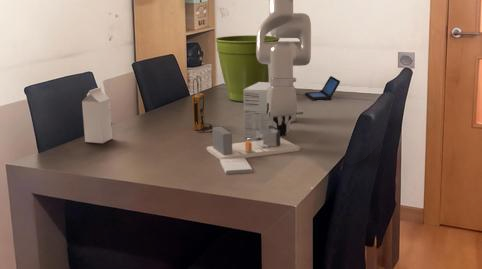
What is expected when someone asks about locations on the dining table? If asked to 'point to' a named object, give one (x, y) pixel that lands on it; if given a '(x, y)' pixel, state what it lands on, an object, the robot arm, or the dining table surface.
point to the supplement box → (256, 110)
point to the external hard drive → (236, 165)
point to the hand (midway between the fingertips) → (281, 135)
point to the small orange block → (248, 146)
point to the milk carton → (97, 117)
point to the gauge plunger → (267, 137)
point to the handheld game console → (324, 90)
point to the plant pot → (241, 63)
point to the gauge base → (243, 146)
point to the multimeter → (198, 110)
